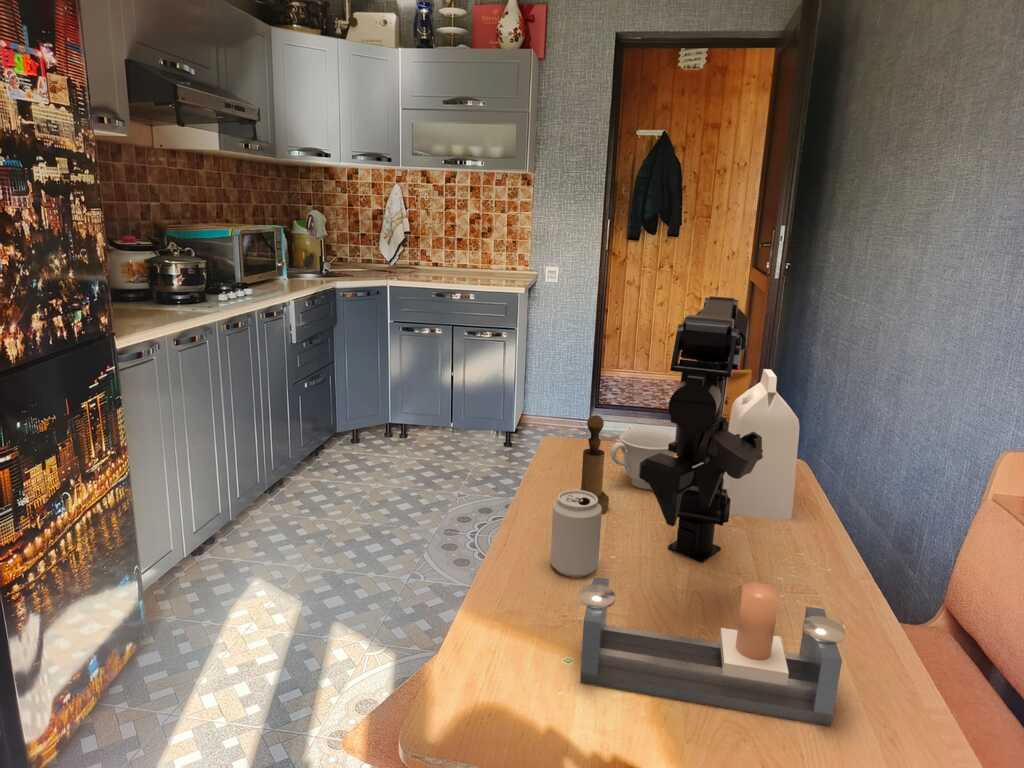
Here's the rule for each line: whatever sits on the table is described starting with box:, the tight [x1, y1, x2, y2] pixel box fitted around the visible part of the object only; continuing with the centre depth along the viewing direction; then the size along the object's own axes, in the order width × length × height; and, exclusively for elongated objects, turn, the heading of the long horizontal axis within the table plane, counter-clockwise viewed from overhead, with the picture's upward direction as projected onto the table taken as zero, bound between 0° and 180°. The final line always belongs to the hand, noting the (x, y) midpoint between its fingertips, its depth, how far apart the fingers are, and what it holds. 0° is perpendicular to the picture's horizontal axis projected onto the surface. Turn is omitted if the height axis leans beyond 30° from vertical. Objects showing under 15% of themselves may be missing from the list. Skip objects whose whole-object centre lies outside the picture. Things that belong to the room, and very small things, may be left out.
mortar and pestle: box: [579, 414, 610, 515], centre depth 128 cm, size 7×6×18 cm
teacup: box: [609, 427, 676, 490], centre depth 140 cm, size 12×15×10 cm
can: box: [550, 489, 602, 578], centre depth 108 cm, size 8×8×12 cm
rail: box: [578, 576, 846, 727], centre depth 84 cm, size 30×10×9 cm, turn 77°
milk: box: [723, 368, 800, 521], centre depth 131 cm, size 12×12×26 cm
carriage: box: [719, 581, 789, 685], centre depth 82 cm, size 7×7×9 cm
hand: (688, 515), depth 99 cm, fingers open, 9 cm apart
